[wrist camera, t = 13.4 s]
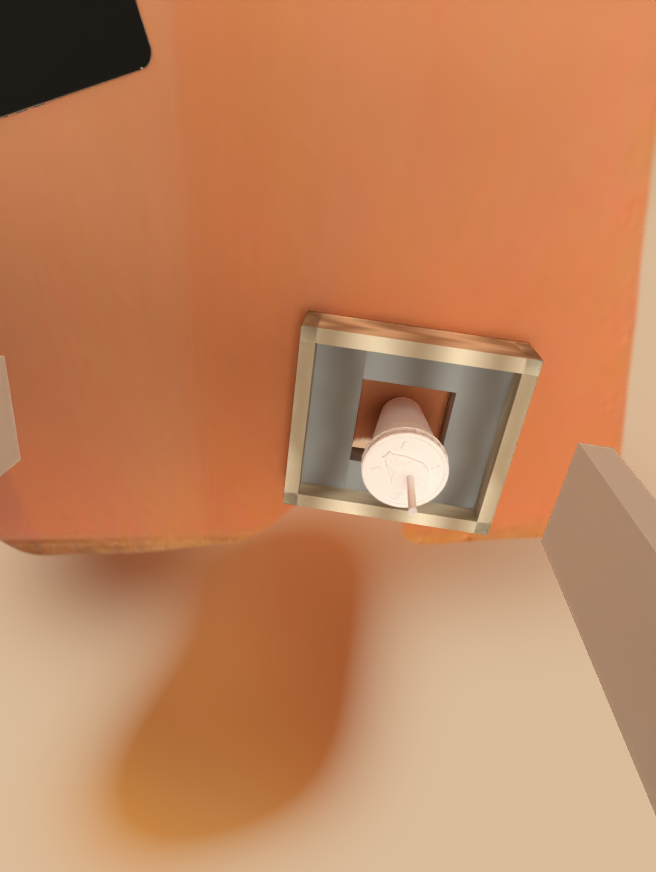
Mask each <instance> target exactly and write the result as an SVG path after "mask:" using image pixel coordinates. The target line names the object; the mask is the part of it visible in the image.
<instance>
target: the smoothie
mask: <svg viewBox="0 0 656 872" xmlns="http://www.w3.org/2000/svg"><path fill="white" fill-rule="evenodd" d="M361 472H362V479H363V482H364V484H365V486H366V488H367V489H368V491H369V492H370V493H371V494H372V495H373V496H374V497H375V498H376V499H378V500H379V501H381V502H383V503H385V504H387V505H390V506H394V507H401V508H408V511H409V514H411V515H415V514H416V513H417V506H420V505H423V504H425V503H427V502H429V501H431V500H432V499H434V498H435V497H436V496H437V495H438V494H439V493H440V492H441V491H442V490H443V488H444V486H445V485H446V482H447V480H448V475H449V465H448V456H447V453H446V451H445V448H444V447H443V445H442V444H441V443H440V441H439V440H438V439H437V438H436V437H434V435H433V433H432V431H431V429H430V426H429V424H428V422H427V420H426V418H425V416H424V414H423V412H422V410H421V408H420V406H419V405H418V403H417V402H415V401H414V400H412V399H410V398H407V397H397V398H393V399H391V400H389V401H388V402H387V403H386V404H385V405H384V406H383V408H382V410H381V413H380V416H379V419H378V422H377V425H376V428H375V431H374V434H373V438H372V440H371V442H370V443H369V444H368V445H367V446H366V448H365V450H364V452H363V455H362V460H361Z"/></svg>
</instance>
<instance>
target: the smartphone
mask: <svg viewBox="0 0 656 872" xmlns="http://www.w3.org/2000/svg"><path fill="white" fill-rule="evenodd" d="M151 59H152V48H151V45H150V42H149V39H148V36H147V33H146V29H145V26H144V23H143V20H142V17H141V14H140V11H139V9H138V6H137V3H136V0H0V118H2V117H7V116H8V115H11V114H14V113H19V112H22V111H25V110H27V109H29V108H31V107H37V106H40V105H43V104H45V103H46V102H49V101H52V100H55V99H58V98H61V97H64V96H67V95H70V94H73V93H76V92H78V91H81V90H84V89H87V88H90V87H93V86H96V85H99V84H102V83H105V82H108V81H111V80H114V79H117V78H120V77H123V76H126V75H128V74H131V73H134V72H137V71H140V70H143V69H145V68H146V67H147V66H148V65H149V64H150V62H151Z"/></svg>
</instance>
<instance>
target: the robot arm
mask: <svg viewBox="0 0 656 872" xmlns="http://www.w3.org/2000/svg"><path fill="white" fill-rule="evenodd" d="M20 460H21V457H20V450H19V444H18V438H17V431H16V425H15V419H14V413H13V406H12V400H11V394H10V387H9V381H8V375H7V368H6V362H5V356H2V355H0V476H1V475H3V474H4V473H5V472H6V471H8V470H9V469H10V468H11V467H13V466H14V465H15V464H16V463H18V462H19V461H20ZM541 542H542V544H543V547H544V549H545V551H546V554H547V556H548V559H549V561H550V563H551V566H552V568H553V570H554V573H555V575H556V578H557V580H558V583H559V585H560V587H561V590H562V592H563V595H564V597H565V599H566V602H567V604H568V606H569V609H570V611H571V614H572V616H573V618H574V621H575V623H576V625H577V628H578V630H579V633H580V635H581V637H582V640H583V642H584V645H585V647H586V649H587V652H588V654H589V657H590V659H591V661H592V664H593V666H594V669H595V671H596V673H597V675H598V678H599V681H600V683H601V685H602V688H603V690H604V693H605V695H606V697H607V699H608V702H609V704H610V707H611V709H612V712H613V714H614V716H615V719H616V721H617V724H618V726H619V728H620V731H621V733H622V736H623V738H624V740H625V743H626V745H627V747H628V750H629V752H630V755H631V757H632V759H633V762H634V764H635V766H636V769H637V771H638V774H639V776H640V778H641V781H642V783H643V786H644V788H645V791H646V793H647V795H648V797H649V800H650V803H651V805H652V807H653V810H654V812H655V814H656V500H655V499H654V497H653V496H652V495H651V494H650V492H649V491H648V490H647V489H646V487H645V486H644V485H643V484H642V483H641V481H640V480H639V479H638V478H637V477H636V475H635V474H634V473H633V471H632V470H631V469H630V468H629V467H628V465H627V464H626V463H625V462H624V460H623V459H622V458H621V457H620V456H619V454H618V453H617V452H616V451H615V449H614V448H611V447H604V446H597V445H591V444H584V443H578V446H577V448H576V451H575V454H574V456H573V459H572V462H571V464H570V467H569V469H568V472H567V475H566V477H565V480H564V483H563V485H562V488H561V491H560V493H559V496H558V499H557V501H556V504H555V506H554V509H553V512H552V514H551V517H550V520H549V522H548V525H547V528H546V530H545V533H544V535H543V538H542V541H541Z"/></svg>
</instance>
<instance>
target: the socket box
mask: <svg viewBox="0 0 656 872" xmlns="http://www.w3.org/2000/svg"><path fill="white" fill-rule="evenodd" d="M542 364H543V360H542V359H541V357H540V356H539V355H538V354H537V352H536V351H535V350H534V349H533V348H532V346H531V345H530V344H529V343H525V342H518V341H511V340H504V339H497V338H491V337H484V336H477V335H470V334H463V333H456V332H450V331H443V330H436V329H429V328H422V327H415V326H409V325H402V324H395V323H388V322H381V321H374V320H368V319H361V318H354V317H347V316H340V315H333V314H326V313H320V312H313V311H309V312H308V314H307V315H306V317H305V319H304V321H303V323H302V325H301V333H300V343H299V353H298V363H297V372H296V382H295V392H294V402H293V412H292V422H291V431H290V441H289V451H288V461H287V471H286V481H285V490H284V500H283V503H285V504H291V505H298V506H305V507H310V508H317V509H324V510H329V511H336V512H342V513H349V514H355V515H361V516H368V517H374V518H381V519H387V520H394V521H400V522H406V523H412V524H419V525H425V526H431V527H438V528H444V529H451V530H457V531H463V532H470V533H476V534H482V535H488V532H489V529H490V526H491V523H492V520H493V517H494V514H495V511H496V507H497V504H498V501H499V498H500V495H501V492H502V489H503V486H504V482H505V479H506V476H507V473H508V470H509V467H510V464H511V461H512V457H513V454H514V451H515V448H516V445H517V442H518V439H519V436H520V432H521V429H522V426H523V423H524V420H525V417H526V414H527V411H528V408H529V404H530V401H531V398H532V395H533V392H534V389H535V386H536V383H537V379H538V376H539V373H540V370H541V367H542ZM363 379H367V380H374V381H381V382H387V383H394V384H401V385H407V386H414V387H421V388H427V389H434V390H441V391H447V392H450V396H449V400H448V404H447V408H446V412H445V417H444V421H443V425H442V429H441V433H440V437H439V441H440V443H441V444H442V445H443V447H444V448H445V451H446V453H447V456H448V465H449V475H448V480H447V482H446V485H445V486H444V488H443V490H442V491H441V492H440V493H439V494H438V495H437V496H436V497H435V498H434V499H432V500H431V501H429V502H427V503H425V504H423V505H420V506H417V513H416V514H415V515H411V514H409V511H408V508H401V507H394V506H390V505H387V504H385V503H383V502H381V501H379V500H378V499H376V498H375V497H374V496H373V495H372V494H371V493H370V492H369V491H368V489H367V488H366V486H365V484H364V482H363V479H362V472H361V460H362V455H363V452H364V450H365V449H363V448H356V447H352V443H353V437H354V431H355V425H356V419H357V413H358V406H359V400H360V394H361V388H362V382H363Z"/></svg>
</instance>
